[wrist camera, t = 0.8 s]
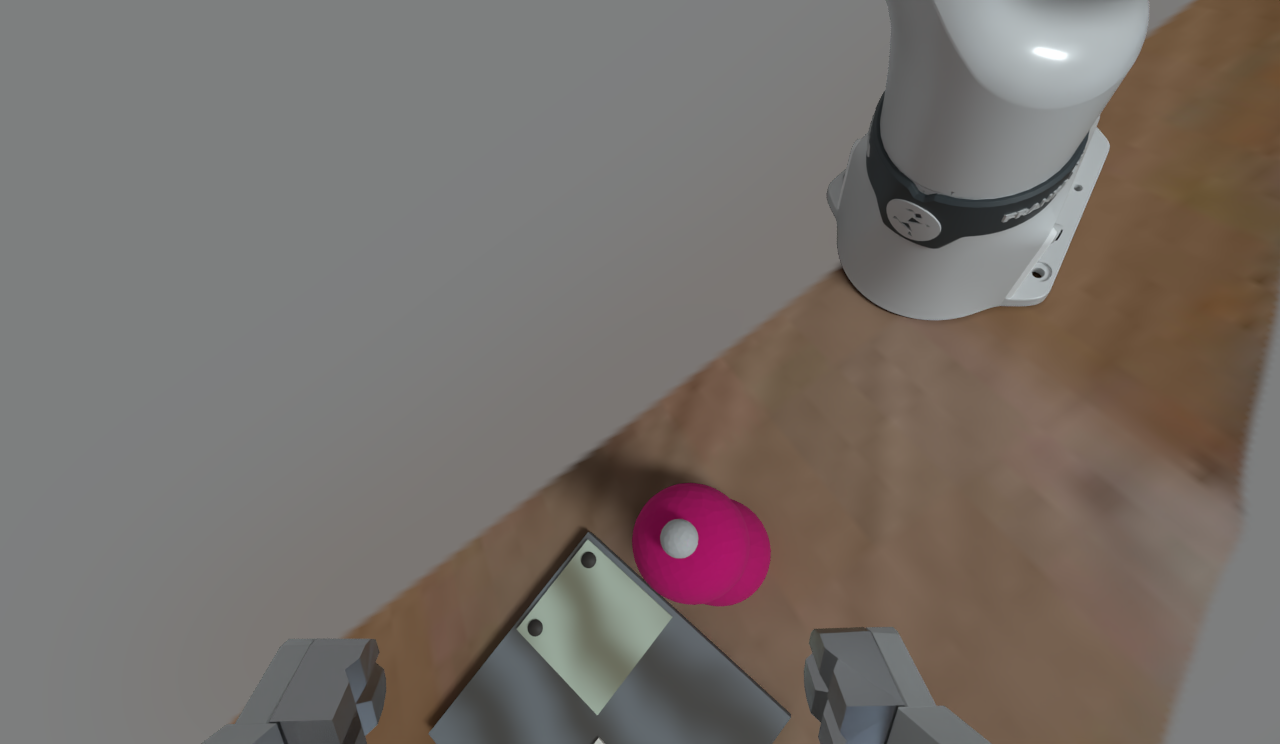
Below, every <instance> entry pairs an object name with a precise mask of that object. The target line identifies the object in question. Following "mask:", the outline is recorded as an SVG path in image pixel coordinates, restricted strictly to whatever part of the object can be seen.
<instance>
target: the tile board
mask: <svg viewBox="0 0 1280 744" xmlns="http://www.w3.org/2000/svg"><path fill="white" fill-rule="evenodd" d="M790 718H791V714H790V713H789V712H788V711H787V710H786V709H785V708H783V707H782V706H781V705H780V704H779V703H778V702H777V701H776V700H775V699H774V698H773V697H771V696H770V695H769V694H768V693H767V692H766V691H765V690H764V689H763V688H762V687H760V686H759V685H758V684H757V683H756V682H755V681H754V680H753V679H752V678H751V677H750V676H748V675H747V674H746V673H745V672H744V671H743V670H742V669H741V668H740V667H739V666H737V665H736V664H735V663H734V662H733V661H732V660H731V659H730V658H729V657H728V656H727V655H725V654H724V653H723V652H722V651H721V650H720V649H719V648H718V647H717V646H716V645H714V644H713V643H712V642H711V641H710V640H709V639H708V638H707V637H706V636H705V635H703V634H702V633H701V632H700V631H699V630H698V629H697V628H696V627H695V626H694V625H693V624H691V623H690V622H689V621H688V620H687V619H686V618H685V617H684V616H683V615H682V614H680V613H679V612H678V611H677V610H676V609H675V608H674V607H673V606H672V605H671V604H670V603H668V602H667V601H666V600H665V599H664V598H663V597H662V596H661V595H660V594H658V593H657V592H656V591H655V590H654V589H652V588H651V587H650V586H649V584H648V583H647V582H645V581H644V580H643V579H642V578H641V577H640V576H639V575H638V574H637V573H636V572H634V571H633V570H632V569H631V568H630V567H629V566H628V565H627V564H626V563H625V562H624V561H622V560H621V559H620V558H619V557H618V556H617V555H616V554H615V553H614V552H613V551H611V550H610V549H609V548H608V547H607V546H606V545H605V544H604V543H603V542H602V541H601V540H599V539H598V538H597V537H596V536H595V535H594V534H593V533H591V532H588V533H587V534H586V535H585V537H584V538H583V539H582V540H581V542H580V543H579V544H578V545H577V547H576V548H575V549H574V550H573V552H572V553H571V554H570V556H569V557H568V558H567V559H566V561H565V562H564V563H563V564H562V566H561V567H560V568H559V569H558V571H557V572H556V573H555V574H554V576H553V577H552V578H551V580H550V581H549V582H548V583H547V585H546V586H545V587H544V588H543V590H542V591H541V592H540V593H539V595H538V596H537V597H536V598H535V600H534V601H533V602H532V604H531V605H530V606H529V607H528V609H527V610H526V611H525V612H524V614H523V615H522V616H521V617H520V619H519V620H518V621H517V622H516V624H515V625H514V626H513V628H512V629H511V630H510V631H509V633H508V634H507V635H506V636H505V638H504V639H503V640H502V641H501V643H500V644H499V645H498V646H497V648H496V649H495V650H494V652H493V653H492V654H491V655H490V657H489V658H488V659H487V660H486V662H485V663H484V664H483V665H482V667H481V668H480V669H479V670H478V672H477V673H476V674H475V675H474V677H473V678H472V679H471V681H470V682H469V683H468V684H467V686H466V687H465V688H464V689H463V691H462V692H461V693H460V694H459V696H458V697H457V698H456V699H455V701H454V702H453V703H452V705H451V706H450V707H449V708H448V710H447V711H446V712H445V713H444V715H443V716H442V717H441V718H440V720H439V721H438V722H437V723H436V725H435V726H434V727H433V729H432V730H431V731H430V732H429V735H430V736H431V737H432V739H433V740H434V741H435V743H436V744H772V743H773V741H774V740H775V739H776V737H777V736H778V734H779V733H780V732H781V730H782V729H783V728H784V726H785V725H786V723H787V722H788V721H789V719H790Z"/></svg>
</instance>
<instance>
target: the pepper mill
mask: <svg viewBox="0 0 1280 744" xmlns="http://www.w3.org/2000/svg"><path fill="white" fill-rule="evenodd" d="M632 545H633V553H634V558H635V562H636V564H637V567H638V569H639V571H640V573H641V575H642V576H643V578H644V580H645V581H646V582H647V583H648V584H649V586H650V587H651V588H652V589H654V590H655V591H656V592H657V593H658V594H660V595H662V596H664V597H665V598H667V599H670V600H672V601H675V602H678V603H682V604H692V605H696V604H706V605H711V606H728V605H733V604H736V603H739V602H741V601H743V600H745V599H747V598H748V597H750V596H751V595H752V594H753V593H754V592H755V591H756V590H757V589H758V588H759V587H760V585H761V584H762V582H763V581H764V579H765V577H766V574H767V572H768V568H769V564H770V552H771V549H770V542H769V538H768V535H767V532H766V530H765V528H764V526H763V524H762V522H761V521H760V520H759V519H758V517H757V516H756V515H755V514H754V513H753V512H752V511H751V510H750V509H749V508H747V507H746V506H744V505H743V504H741V503H739V502H737V501H735V500H732V499H729V498H728V497H727V496H726V495H725V494H723V493H721V492H720V491H718V490H716V489H715V488H712V487H709V486H706V485H703V484H697V483H683V484H676V485H673V486H670V487H668V488H665V489H663V490H662V491H660V492H659V493H657V494H656V495H654V496H653V497H652V498H651V499H650V500H649V501H648V502H647V503H646V504H645V506H644V507H643V508H642V510H641V512H640V514H639V516H638V517H637V519H636V522H635V526H634V529H633V537H632Z"/></svg>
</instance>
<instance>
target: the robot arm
mask: <svg viewBox="0 0 1280 744" xmlns="http://www.w3.org/2000/svg"><path fill="white" fill-rule="evenodd" d="M886 3H887V6H888V10H889V16H890V22H891V40H890V56H889V67H888V75H887V83H886V90H885V92H884V93H883V95H882V96H881V99H880V100H879V103H878V105H877V107H876V111H875V113H874V115H873V118H872V121H871V125H870V128H869V132H868V133H867V134H866V135H865V136H864V137H863V138H862V139H857V140H856V141H855V143H854V144H853V146H852V149H851V153H850V157H849V161H848V164H847V168H846V169H845V170H844V171H843V172H842V173H841V174H840V175H838V176H837V177H836V178H835V179H834V180H833V181H832V182H831V183H830V185H829V187H828V191H827V200H828V203H829V206H830V208H831V210H832V212H833V214H834V216H835V218H836V221H837V248H838V254H839V258H840V262H841V265H842V267H843V269H844V271H845V273H846V275H847V276H848V278H849V280H850V281H851V282H852V284H853V285H854V286H855V287H856V288H857V289H858V290H859V291H860V292H861V293H862V294H863V295H864V296H865V297H866V298H868V299H869V300H870V301H872V302H873V303H875V304H877V305H878V306H880V307H882V308H884V309H886V310H888V311H890V312H893V313H896V314H899V315H902V316H906V317H910V318H915V319H923V320H947V319H954V318H960V317H964V316H968V315H971V314H974V313H977V312H979V311H982V310H985V309H988V308H992V307H996V306H1030V305H1036V304H1039V303H1041V302H1042V301H1043V300H1044V299H1045V298H1046V297H1047V295H1048V293H1049V292H1050V290H1051V287H1052V285H1053V283H1054V280H1055V278H1056V276H1057V273H1058V271H1059V269H1060V266H1061V264H1062V261H1063V259H1064V257H1065V254H1066V252H1067V250H1068V247H1069V245H1070V242H1071V240H1072V238H1073V235H1074V233H1075V231H1076V228H1077V226H1078V223H1079V221H1080V219H1081V216H1082V214H1083V212H1084V209H1085V207H1086V204H1087V202H1088V200H1089V197H1090V195H1091V193H1092V190H1093V188H1094V185H1095V183H1096V181H1097V178H1098V176H1099V174H1100V171H1101V169H1102V166H1103V164H1104V162H1105V159H1106V157H1107V154H1108V152H1109V148H1110V144H1109V142H1108V140H1107V139H1106V137H1105V136H1104V135H1103V134H1102V132H1101V131H1100V130H1099V129H1098V128H1097V127H1096V126H1097V124H1098V121H1099V119H1100V114H1101V112H1102V110H1103V109H1104V107H1105V106H1106V104H1107V103H1108V101H1109V100H1110V98H1111V97H1112V95H1113V94H1114V92H1115V91H1116V89H1117V88H1118V86H1119V85H1120V83H1121V82H1122V80H1123V79H1124V77H1125V76H1126V74H1127V73H1128V71H1129V70H1130V68H1131V67H1132V66H1133V64H1134V62H1135V60H1136V59H1137V57H1138V55H1139V53H1140V50H1141V48H1142V45H1143V43H1144V40H1145V37H1146V33H1147V29H1148V22H1149V0H886ZM1032 272H1037V273H1039V274H1040V275H1041V278H1036V277H1034V276H1033V275H1032ZM809 644H810V647H811V650H812V654H811V655H810V656H809V657H808V658H807V659H806V661H805V668H804V687H805V692H806V697H807V702H808V705H809V708H810V712H811V714H812V715H813V716H815V717H816V718H817V719H818V720H819V721H820V722H821V726H820V731H819V735H818V738H819V741H820V744H991V743H990V742H989V741H988V740H986V739H985V738H984V737H983V736H981V735H980V734H979V733H978V732H976V731H975V730H974V729H973V728H971V727H970V726H969V725H968V724H966V723H965V722H964V721H963V720H961V719H960V718H959V717H958V716H956V715H955V714H954V713H953V712H951V711H950V710H949V709H948V708H946V707H945V706H936V704H935V702H934V700H933V698H932V696H931V695H930V693H929V691H928V689H927V687H926V685H925V683H924V681H923V679H922V677H921V675H920V673H919V671H918V670H917V668H916V666H915V664H914V662H913V660H912V658H911V656H910V654H909V652H908V650H907V648H906V646H905V645H904V643H903V641H902V639H901V637H900V635H899V633H898V631H897V630H895V629H894V628H893V627H872V628H864V627H854V628H825V629H814V630H813V631H812V633H811V636H810V641H809ZM378 654H379V649H378V646H377V642H376V639H288V640H287V641H286V642H285V643H284V644H283V645H282V646H281V647H280V648H279V650H278V651H277V653H276V655H275V657H274V658H273V660H272V662H271V664H270V665H269V667H268V669H267V670H266V672H265V674H264V675H263V677H262V679H261V680H260V682H259V684H258V686H257V687H256V689H255V691H254V692H253V694H252V696H251V697H250V699H249V701H248V702H247V704H246V706H245V708H244V709H243V711H242V713H241V714H240V716H239V718H238V719H237V721H236V723H235V724H227V725H225V726H224V727H222V728H221V729H220V730H218V731H217V732H216V733H214V734H213V735H212V736H210V737H209V738H208V739H207V740H205V741H204V742H203V743H201V744H367V742H366V738H365V736H366V735H367V734H368V733H369V732H370V731H371V730H372V729H373V728H374V727H375V726H376V725H377V724H378V722H379V719H380V716H381V713H382V710H383V706H384V700H385V694H386V677H385V673H384V669H383V668H382V667H381V666H379V665H378V664H377V663H376V659H377V657H378Z"/></svg>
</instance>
